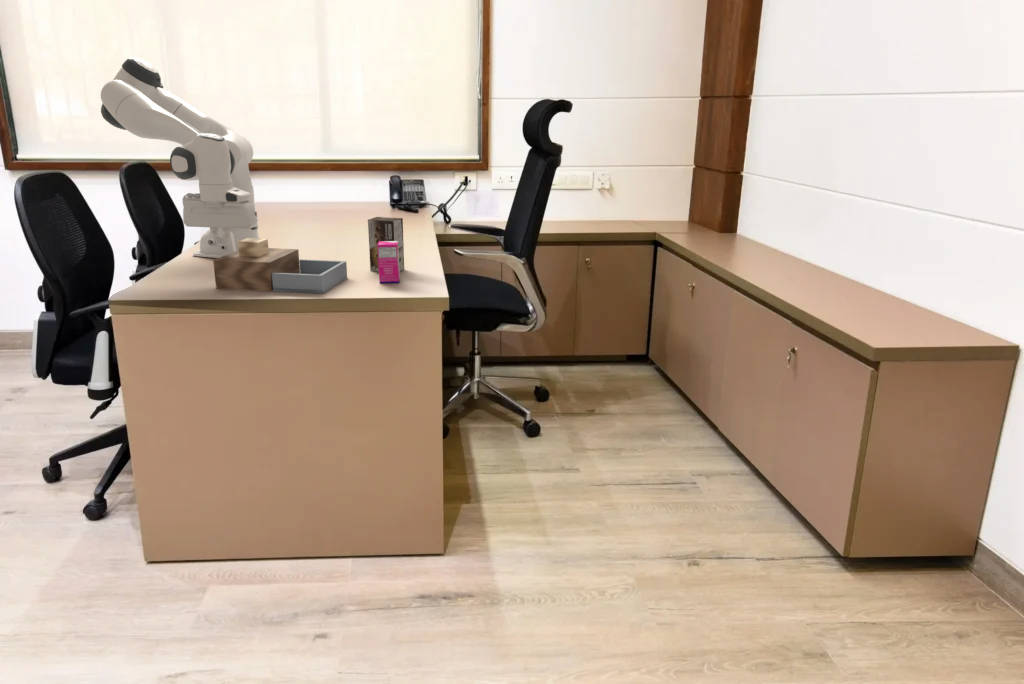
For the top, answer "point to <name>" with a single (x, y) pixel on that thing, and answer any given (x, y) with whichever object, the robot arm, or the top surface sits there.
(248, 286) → the zigzag grain wood block
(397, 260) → the supplement box
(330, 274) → the box
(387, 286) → the top surface
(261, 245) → the birch block
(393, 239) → the coffee box
